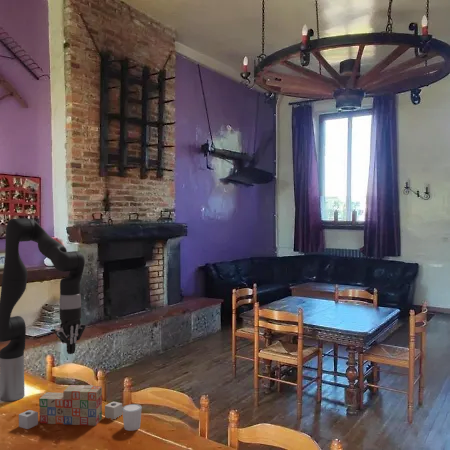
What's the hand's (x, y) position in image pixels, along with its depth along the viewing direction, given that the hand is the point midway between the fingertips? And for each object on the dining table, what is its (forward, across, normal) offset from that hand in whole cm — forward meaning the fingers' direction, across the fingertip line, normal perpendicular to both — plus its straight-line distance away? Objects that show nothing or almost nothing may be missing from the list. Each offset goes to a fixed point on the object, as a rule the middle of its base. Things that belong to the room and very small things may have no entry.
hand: (71, 353), depth 172 cm
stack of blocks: (+25, 0, 0) cm, 25 cm away
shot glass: (+25, -6, +23) cm, 34 cm away
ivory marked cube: (+25, -10, +11) cm, 29 cm away
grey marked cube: (+25, +10, -11) cm, 29 cm away
